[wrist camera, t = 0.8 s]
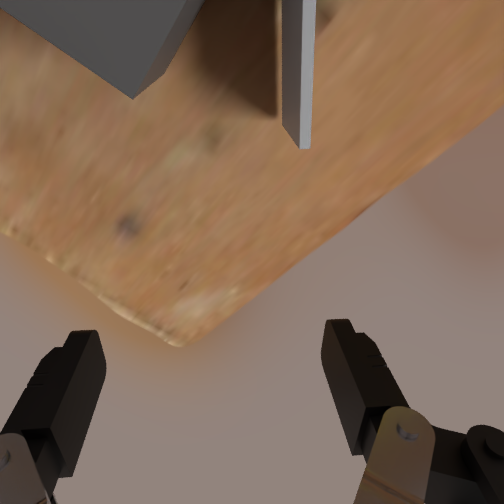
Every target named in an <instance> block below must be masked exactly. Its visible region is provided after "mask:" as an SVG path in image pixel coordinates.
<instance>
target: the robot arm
mask: <svg viewBox="0 0 504 504" xmlns="http://www.w3.org/2000/svg"><path fill="white" fill-rule="evenodd" d="M321 360H322V366H323V369H324V372H325V375H326V378H327V381H328V384H329V387H330V390H331V393H332V396H333V399H334V402H335V406H336V409H337V412H338V415H339V418H340V420H341V424H342V427H343V429H344V432H345V435H346V439H347V442H348V445H349V448H350V451H351V454H352V456H354V455H363V456H364V458H365V461H366V464H367V465H366V468H365V471H364V474H363V477H362V480H361V483H360V486H359V489H358V491H357V494H356V498H355V500H354V503H353V504H424V503H425V504H504V432H502V431H501V430H499V429H496V428H494V427H491V426H487V425H476V426H473V427H471V428H470V429H469V430H468V432H467V434H463V433H458V432H454V431H449V430H445V429H441V428H438V427H435V426H433V425H431V424H430V423H429V422H428V420H427V419H426V418H425V417H424V416H423V415H421V414H420V413H418V412H417V411H415V410H413V409H411V408H410V407H409V405H408V403H407V401H406V399H405V398H404V396H403V394H402V392H401V390H400V388H399V386H398V385H397V383H396V381H395V379H394V377H393V375H392V373H391V371H390V370H389V368H387V364H386V362H385V360H384V358H383V357H382V355H381V353H380V351H379V349H378V347H377V345H376V344H375V342H374V341H372V339H370V338H369V337H368V336H367V335H366V334H365V333H356V332H355V330H354V329H353V326H352V324H351V322H350V320H349V319H331V320H327V321H326V324H325V329H324V336H323V342H322V348H321ZM105 376H106V360H105V356H104V352H103V349H102V345H101V342H100V338H99V334H98V332H97V331H96V330H80V331H72V332H71V333H70V334H69V336H68V338H67V340H66V341H65V343H64V346H63V347H55V348H53V349H52V350H51V351H50V352H49V353H48V354H47V355H46V356H45V357H44V358H43V359H41V361H40V363H39V365H38V366H37V368H36V370H35V372H34V375H33V376H32V377H31V379H30V381H29V383H28V384H27V388H25V390H24V391H23V393H22V395H21V397H20V399H19V400H18V402H17V404H16V406H15V408H14V409H13V411H12V413H11V415H10V417H9V418H8V420H7V422H6V424H5V425H4V427H3V429H2V431H1V432H0V504H58V503H57V501H56V498H55V495H54V493H53V491H54V488H55V486H56V483H57V480H58V478H63V477H72V476H73V473H74V470H75V466H76V464H77V461H78V458H79V455H80V452H81V449H82V446H83V443H84V440H85V437H86V434H87V431H88V428H89V425H90V422H91V419H92V416H93V413H94V410H95V407H96V404H97V401H98V398H99V395H100V392H101V389H102V386H103V383H104V380H105Z"/></svg>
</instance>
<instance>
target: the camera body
mask: <svg viewBox="0 0 504 504" xmlns="http://www.w3.org/2000/svg"><path fill="white" fill-rule="evenodd" d="M204 2H205V0H0V8H1V9H3V10H4V11H5V12H7V13H8V14H10V15H11V16H13V17H14V18H16V19H17V20H18V21H20V22H21V23H23V24H24V25H26V26H27V27H29V28H30V29H32V30H33V31H34V32H36V33H37V34H39V35H40V36H42V37H43V38H45V39H46V40H47V41H49V42H50V43H52V44H53V45H55V46H56V47H58V48H59V49H60V50H62V51H63V52H65V53H66V54H68V55H69V56H71V57H72V58H73V59H75V60H76V61H78V62H79V63H81V64H82V65H84V66H85V67H86V68H88V69H89V70H91V71H92V72H94V73H95V74H97V75H98V76H99V77H101V78H102V79H104V80H105V81H107V82H108V83H110V84H111V85H112V86H114V87H115V88H117V89H118V90H120V91H121V92H123V93H124V94H125V95H127V96H128V97H130V98H131V99H134V98H135V97H136V96H138V95H139V94H140V93H141V92H142V91H144V90H145V89H146V88H147V87H149V86H150V85H151V84H152V83H153V82H155V81H156V80H157V79H158V78H159V77H161V76H162V75H163V74H164V73H165V71H166V69H167V68H168V66H169V64H170V62H171V60H172V59H173V57H174V55H175V53H176V52H177V50H178V48H179V46H180V45H181V43H182V41H183V39H184V37H185V36H186V34H187V32H188V30H189V29H190V27H191V25H192V23H193V21H194V20H195V18H196V16H197V14H198V13H199V11H200V9H201V7H202V5H203V4H204Z"/></svg>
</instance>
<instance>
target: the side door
mask: <svg viewBox="0 0 504 504" xmlns="http://www.w3.org/2000/svg"><path fill="white" fill-rule="evenodd" d="M315 13H316V0H282V125H283V127H284V128H285V130H286V131H287V132H288V134H289V135H290V137H291V138H292V139H293V141H294V142H295V144H296V145H297V146H298V148H299V149H309V148H310V142H311V116H312V90H313V65H314V39H315Z"/></svg>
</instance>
